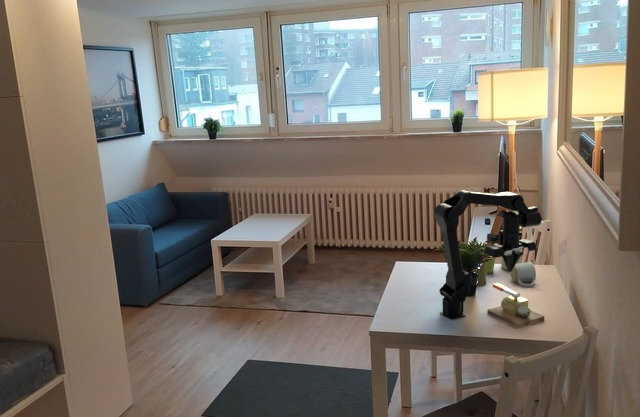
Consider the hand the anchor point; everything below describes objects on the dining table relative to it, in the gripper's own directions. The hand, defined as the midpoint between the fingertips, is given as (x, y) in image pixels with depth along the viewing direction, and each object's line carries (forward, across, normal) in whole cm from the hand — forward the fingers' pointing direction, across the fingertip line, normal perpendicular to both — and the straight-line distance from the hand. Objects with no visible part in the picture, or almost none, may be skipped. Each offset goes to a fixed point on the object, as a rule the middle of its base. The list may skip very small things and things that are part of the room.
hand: (509, 271), depth 205 cm
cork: (+13, -6, -23) cm, 27 cm away
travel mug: (+13, -30, -31) cm, 45 cm away
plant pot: (+13, -18, -33) cm, 40 cm away
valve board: (+13, +5, +9) cm, 16 cm away
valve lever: (+5, +5, +4) cm, 8 cm away
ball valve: (+11, +5, +9) cm, 15 cm away
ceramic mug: (+13, -22, -15) cm, 29 cm away
